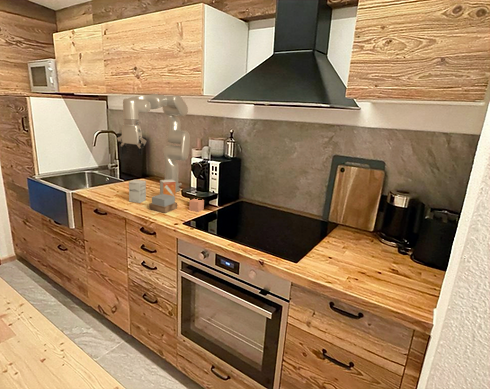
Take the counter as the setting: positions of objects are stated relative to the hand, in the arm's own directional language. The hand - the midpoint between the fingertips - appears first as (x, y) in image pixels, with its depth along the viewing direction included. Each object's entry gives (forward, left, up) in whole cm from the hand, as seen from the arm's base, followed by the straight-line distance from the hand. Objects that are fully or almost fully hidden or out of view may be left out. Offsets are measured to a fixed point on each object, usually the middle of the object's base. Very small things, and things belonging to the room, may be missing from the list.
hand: (132, 154), depth 165 cm
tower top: (-6, +17, -27) cm, 32 cm away
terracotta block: (-16, +32, -30) cm, 47 cm away
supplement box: (-9, -6, -31) cm, 32 cm away
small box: (-20, +8, -31) cm, 37 cm away
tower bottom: (-6, +16, -31) cm, 35 cm away
